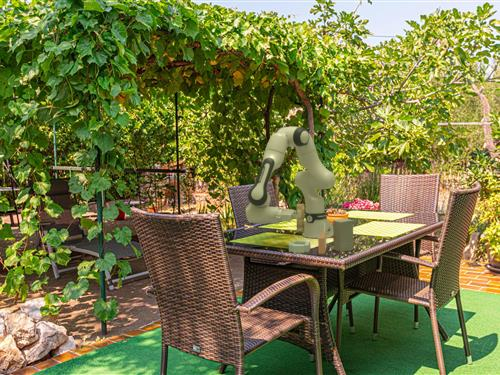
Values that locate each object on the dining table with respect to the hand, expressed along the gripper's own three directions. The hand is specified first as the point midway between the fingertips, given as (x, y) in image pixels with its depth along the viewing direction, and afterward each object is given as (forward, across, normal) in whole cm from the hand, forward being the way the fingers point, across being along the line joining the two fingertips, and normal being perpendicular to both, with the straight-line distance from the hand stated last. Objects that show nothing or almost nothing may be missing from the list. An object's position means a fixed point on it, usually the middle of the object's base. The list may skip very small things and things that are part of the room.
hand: (302, 215), depth 265 cm
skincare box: (+21, -4, +17) cm, 28 cm away
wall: (+11, -6, +17) cm, 21 cm away
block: (-1, -6, +17) cm, 18 cm away
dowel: (-1, 0, +8) cm, 8 cm away
